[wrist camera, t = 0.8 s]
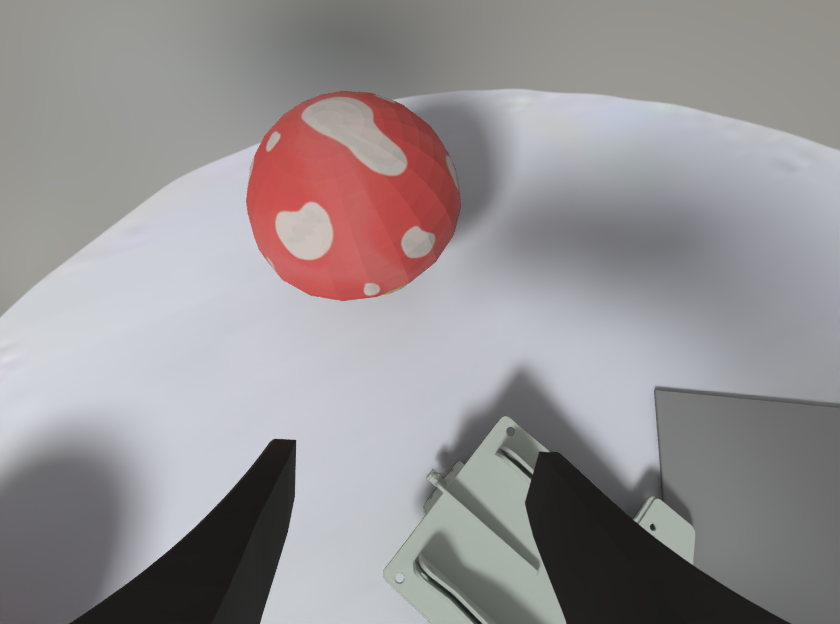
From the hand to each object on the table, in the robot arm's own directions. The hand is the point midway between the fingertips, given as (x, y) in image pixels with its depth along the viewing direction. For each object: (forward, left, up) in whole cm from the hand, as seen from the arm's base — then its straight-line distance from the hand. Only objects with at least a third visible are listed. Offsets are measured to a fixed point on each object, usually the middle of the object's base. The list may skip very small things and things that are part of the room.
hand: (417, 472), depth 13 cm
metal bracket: (-3, -5, -17) cm, 18 cm away
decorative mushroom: (+16, +7, -17) cm, 24 cm away
